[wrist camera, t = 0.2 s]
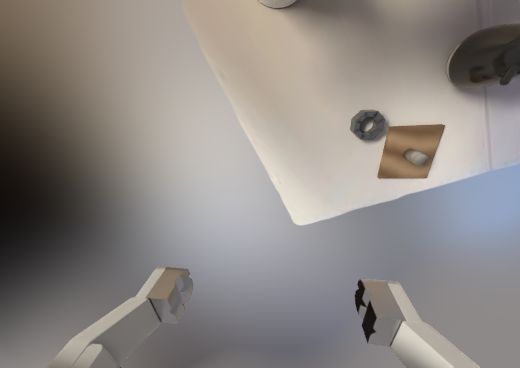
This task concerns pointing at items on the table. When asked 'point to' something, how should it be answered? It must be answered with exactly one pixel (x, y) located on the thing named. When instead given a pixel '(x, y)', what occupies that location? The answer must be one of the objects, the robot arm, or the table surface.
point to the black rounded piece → (486, 57)
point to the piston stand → (409, 151)
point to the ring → (371, 132)
